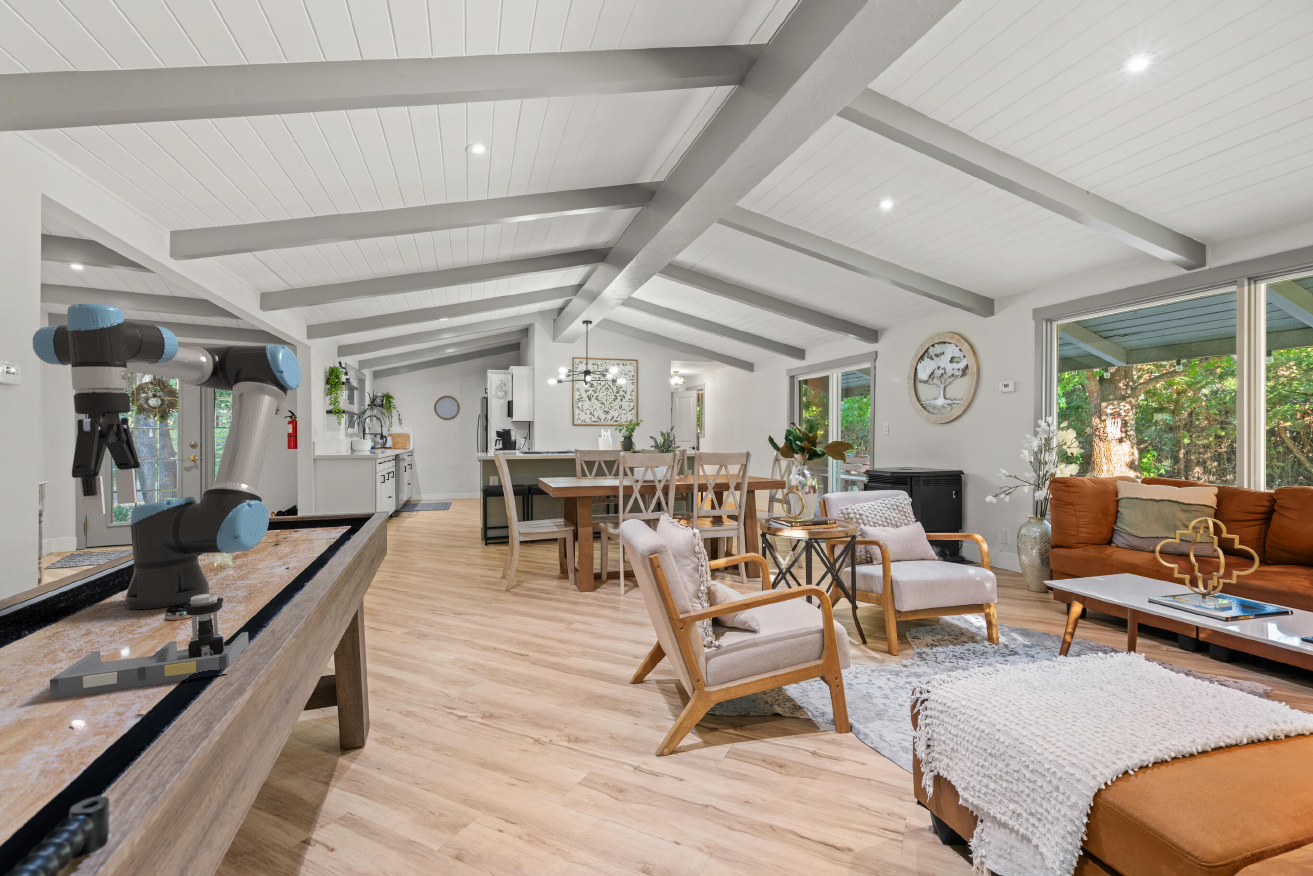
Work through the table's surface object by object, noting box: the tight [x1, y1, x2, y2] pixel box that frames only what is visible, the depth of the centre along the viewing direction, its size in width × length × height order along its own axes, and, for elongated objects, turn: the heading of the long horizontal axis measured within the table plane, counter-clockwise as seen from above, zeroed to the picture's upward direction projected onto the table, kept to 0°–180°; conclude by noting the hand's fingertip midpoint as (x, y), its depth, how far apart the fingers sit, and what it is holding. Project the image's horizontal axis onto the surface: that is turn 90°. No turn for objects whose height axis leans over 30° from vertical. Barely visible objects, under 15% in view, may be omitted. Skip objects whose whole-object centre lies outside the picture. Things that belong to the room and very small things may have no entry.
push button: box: [176, 592, 225, 659], centre depth 103 cm, size 7×5×10 cm
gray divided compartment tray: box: [49, 631, 250, 701], centre depth 100 cm, size 12×22×3 cm, turn 110°
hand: (111, 508), depth 112 cm, fingers open, 13 cm apart
